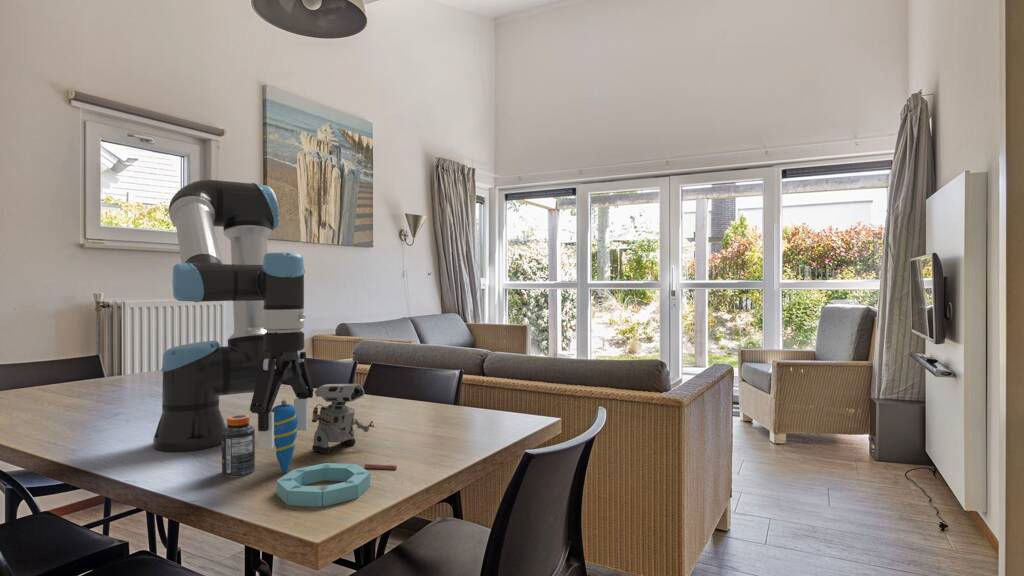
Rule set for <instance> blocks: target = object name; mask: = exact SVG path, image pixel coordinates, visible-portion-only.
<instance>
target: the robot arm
mask: <svg viewBox="0 0 1024 576" xmlns="http://www.w3.org/2000/svg"><path fill="white" fill-rule="evenodd" d="M168 214H169V220H170V222H171V224H172V225H173V226H174V227H175V228H176V229H175V230H176V235H177V241H178V248H179V249H178V250H179V255H180V262H181V263H177V264H175V265H174V266H173V268H172V283H171V284H172V296H173V298H174V299H175V300H176V301H177V302H193V303H200V302H201V303H202V302H232V306H233V307H232V311H233V333H232V334H231V335H230V336H229V337H228V339H227V346H221V344H220V343H219V341H217V340H209V341H206V340H205V341H198V342H191V343H186V344H181V345H177V346H173V347H171V348H168V349H166V350H165V351H164V353H163V355H162V362H161V364H162V365H161V369H160V371H161V373H162V387H161V388H162V391H161V392H162V393H161V394H162V395H161V396H162V397H161V398H162V399H161V405H162V406H161V407H162V409H161V416H160V418H159V421H158V423H157V427H156V429H155V430H156V431H155V434H154V435H153V439H152V440H153V443H152V444H153V446H152V448H153V449H154V450H156V451H158V452H167V453H169V452H170V453H171V452H172V453H177V452H178V453H179V452H180V453H181V452H188V451H189V452H192V451H198V450H203V449H208V448H212V447H216V446H219V445H222V431H223V430H224V429H225V428H226V427H227V425H226V423H225V421H224V418H223V415H222V412H221V409H220V397H221V396H230V395H239V394H250V393H252V397H251V403H250V406H249V411H250V412H251V413H252V414H257V449H273V448H275V443H274V438H275V436H274V412H271V410H272V409H273V408H274V404H275V402H276V399H277V396H278V393H279V391H280V388H281V386H282V384H283V383H284V382H285V381H286V379H287V381H288V383H289V385H290V387H291V389H292V391H293V392H294V395H295V397H296V398H293V406H294V408H295V410H296V413H297V415H298V425H297V427H296V430H297V431H301V432H302V431H308V430H309V399H310V398H311V399H312V398H313V396H314V392H315V391H314V385H313V383H312V379H311V374H310V370H309V366H308V361H307V353H306V351H303V350H304V349H305V332H304V331H302V330H303V329H304V328H305V318H306V314H305V310H304V309H305V272H306V269H305V263H304V257H303V255H301V254H300V253H297V252H268V240H269V239H270V238H271V237H272V236H273V233H274V230H277V229H278V227H279V224H280V207H279V202H278V199H277V195H276V192H275V191H274V190H273V188H272V187H270V186H269V185H265V184H259V183H255V182H251V183H250V182H238V181H228V180H226V181H225V180H216V179H201V180H196V181H192V182H190V183H188V184H186V185H184V186H183V187H181V188H180V189H179V190H177V191H176V193H175V194H174V195H173V197H172V198H171V200H170V202H169V204H168ZM215 227H221V228H222V229H223V235H224V236H225V237H226V238H227V239H229V241H230V259H231V263H230V264H227V263H223V259H222V255H221V252H220V247H219V243H218V239H217V235H216V232H215Z"/></svg>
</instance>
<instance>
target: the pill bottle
mask: <svg viewBox="0 0 1024 576" xmlns="http://www.w3.org/2000/svg"><path fill="white" fill-rule="evenodd" d="M255 433H256V431H255V428H254V426H253V425H250V415H249V414H235V415H230V416H228V417H227V418H226V428H225V429H224V430H223V431H222V443H221V474H222V476H223V477H226V478H238V477H239V478H240V477H246V476H248V475H251V474H252V473H254V472H255V471H256V470H255V469H256V438H255V435H256V434H255Z"/></svg>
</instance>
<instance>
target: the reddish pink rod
mask: <svg viewBox="0 0 1024 576" xmlns="http://www.w3.org/2000/svg"><path fill="white" fill-rule="evenodd" d="M363 467H364V469H378V470H397V468H398V465H396V464H377V463H376V464H373V463H365V464H364V466H363Z"/></svg>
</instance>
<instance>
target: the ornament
mask: <svg viewBox="0 0 1024 576" xmlns="http://www.w3.org/2000/svg"><path fill="white" fill-rule="evenodd" d="M280 402H281V403H280V404H279V405H275V406H273V407H272V410H271V412H274V447H275V449H276V452H275V456H276V459H277V461H278V464H279V467H280V469H281V471H282V474H283V475H286V474H287V473H288V470H289V468H290V465H291V462H292V459H293V455H294V452H295V447H296V445H295V440H296V439H297V438H296V437H297V435H298V430H296V427H297V425H298V415H297V413H296V410H295V408H294V404H293V405H292V404H288V403H287V400H286V398H285V397H283V400H281V401H280Z"/></svg>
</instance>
